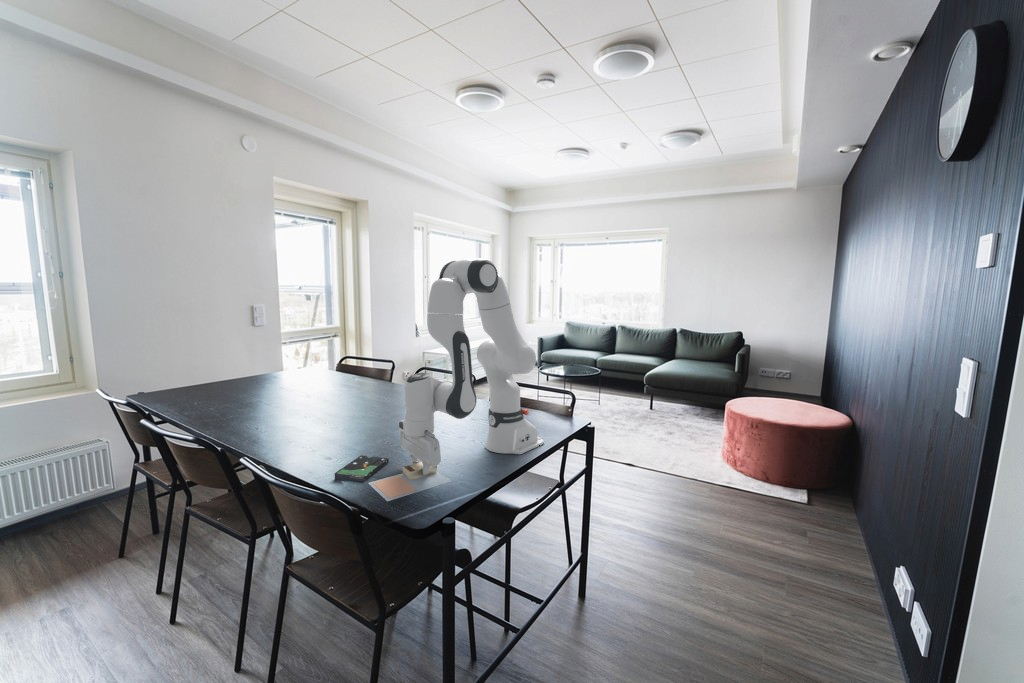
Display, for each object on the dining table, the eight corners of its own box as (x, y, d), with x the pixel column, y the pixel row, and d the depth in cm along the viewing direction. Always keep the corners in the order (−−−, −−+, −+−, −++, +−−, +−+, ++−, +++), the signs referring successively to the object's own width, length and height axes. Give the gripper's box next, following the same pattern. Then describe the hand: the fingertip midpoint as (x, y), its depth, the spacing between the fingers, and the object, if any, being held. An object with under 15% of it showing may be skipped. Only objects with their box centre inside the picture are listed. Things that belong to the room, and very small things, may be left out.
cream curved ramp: (429, 467, 137) (429, 459, 136) (436, 472, 133) (436, 464, 133) (402, 474, 131) (402, 466, 131) (410, 480, 127) (410, 472, 127)
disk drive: (360, 463, 143) (334, 481, 128) (360, 455, 142) (333, 472, 128) (389, 465, 141) (365, 485, 126) (389, 457, 140) (365, 476, 126)
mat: (429, 467, 138) (429, 465, 138) (451, 483, 127) (451, 480, 127) (367, 484, 125) (367, 482, 125) (387, 503, 115) (387, 500, 114)
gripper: (445, 433, 124) (446, 479, 126) (413, 417, 140) (414, 457, 142) (426, 438, 120) (426, 485, 122) (395, 420, 136) (396, 462, 138)
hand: (420, 470), depth 132 cm, fingers closed on cream curved ramp, 5 cm apart
